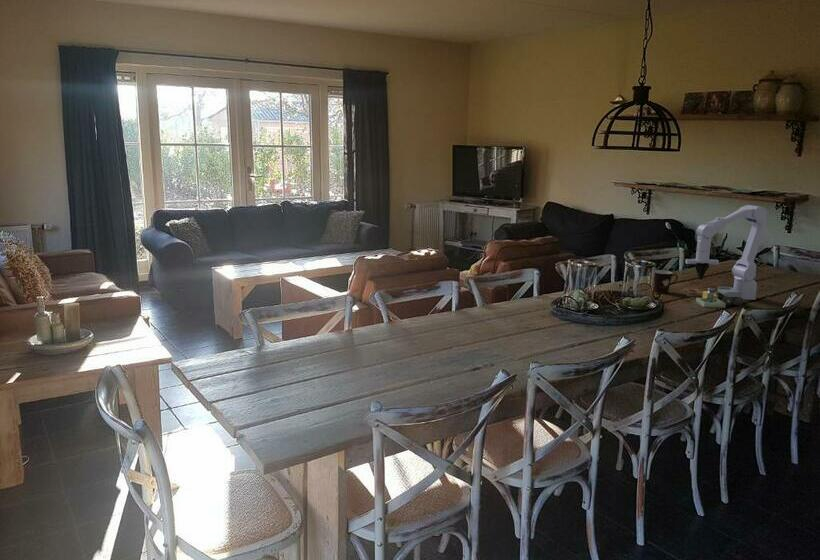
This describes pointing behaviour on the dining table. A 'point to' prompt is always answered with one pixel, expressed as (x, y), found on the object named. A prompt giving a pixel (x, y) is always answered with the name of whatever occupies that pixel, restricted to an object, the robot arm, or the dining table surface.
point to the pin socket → (693, 292)
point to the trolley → (729, 295)
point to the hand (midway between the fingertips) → (700, 279)
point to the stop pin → (710, 295)
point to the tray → (716, 303)
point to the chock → (705, 294)
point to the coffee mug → (663, 281)
